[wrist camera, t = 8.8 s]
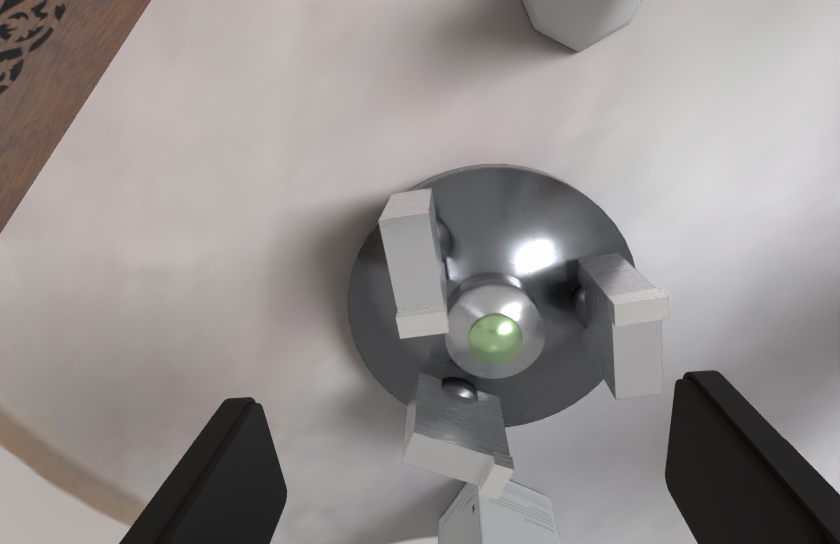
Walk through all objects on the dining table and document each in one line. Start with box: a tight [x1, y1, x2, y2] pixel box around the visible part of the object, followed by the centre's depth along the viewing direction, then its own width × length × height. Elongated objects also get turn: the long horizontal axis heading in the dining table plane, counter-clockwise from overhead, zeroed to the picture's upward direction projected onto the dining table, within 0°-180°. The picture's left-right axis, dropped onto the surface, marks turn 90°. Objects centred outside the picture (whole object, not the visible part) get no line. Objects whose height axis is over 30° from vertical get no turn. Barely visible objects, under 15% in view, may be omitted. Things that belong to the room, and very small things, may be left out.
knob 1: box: [401, 372, 514, 500], centre depth 29 cm, size 4×6×7 cm, turn 71°
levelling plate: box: [348, 164, 635, 427], centre depth 29 cm, size 19×19×6 cm
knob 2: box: [571, 253, 669, 400], centre depth 25 cm, size 4×6×7 cm, turn 11°
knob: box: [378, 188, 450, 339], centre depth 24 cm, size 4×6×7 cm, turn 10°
